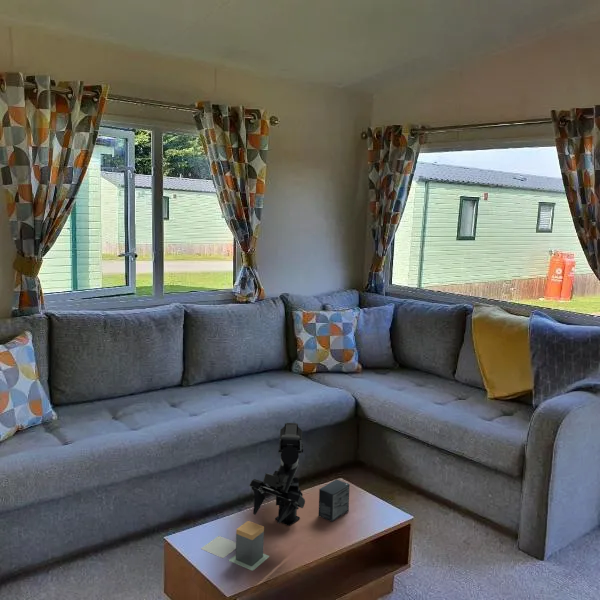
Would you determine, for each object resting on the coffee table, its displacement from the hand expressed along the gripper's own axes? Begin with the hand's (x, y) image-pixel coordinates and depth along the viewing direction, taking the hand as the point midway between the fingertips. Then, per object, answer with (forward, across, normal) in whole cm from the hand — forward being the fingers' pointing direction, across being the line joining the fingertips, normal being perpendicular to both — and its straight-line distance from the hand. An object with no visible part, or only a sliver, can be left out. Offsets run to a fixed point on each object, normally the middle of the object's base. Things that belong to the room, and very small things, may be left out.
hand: (265, 518), depth 186 cm
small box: (-15, +8, +29) cm, 34 cm away
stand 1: (+13, -11, 0) cm, 17 cm away
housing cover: (+7, 0, -6) cm, 9 cm away
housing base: (+13, 0, 0) cm, 13 cm away
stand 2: (+13, 0, 0) cm, 13 cm away
